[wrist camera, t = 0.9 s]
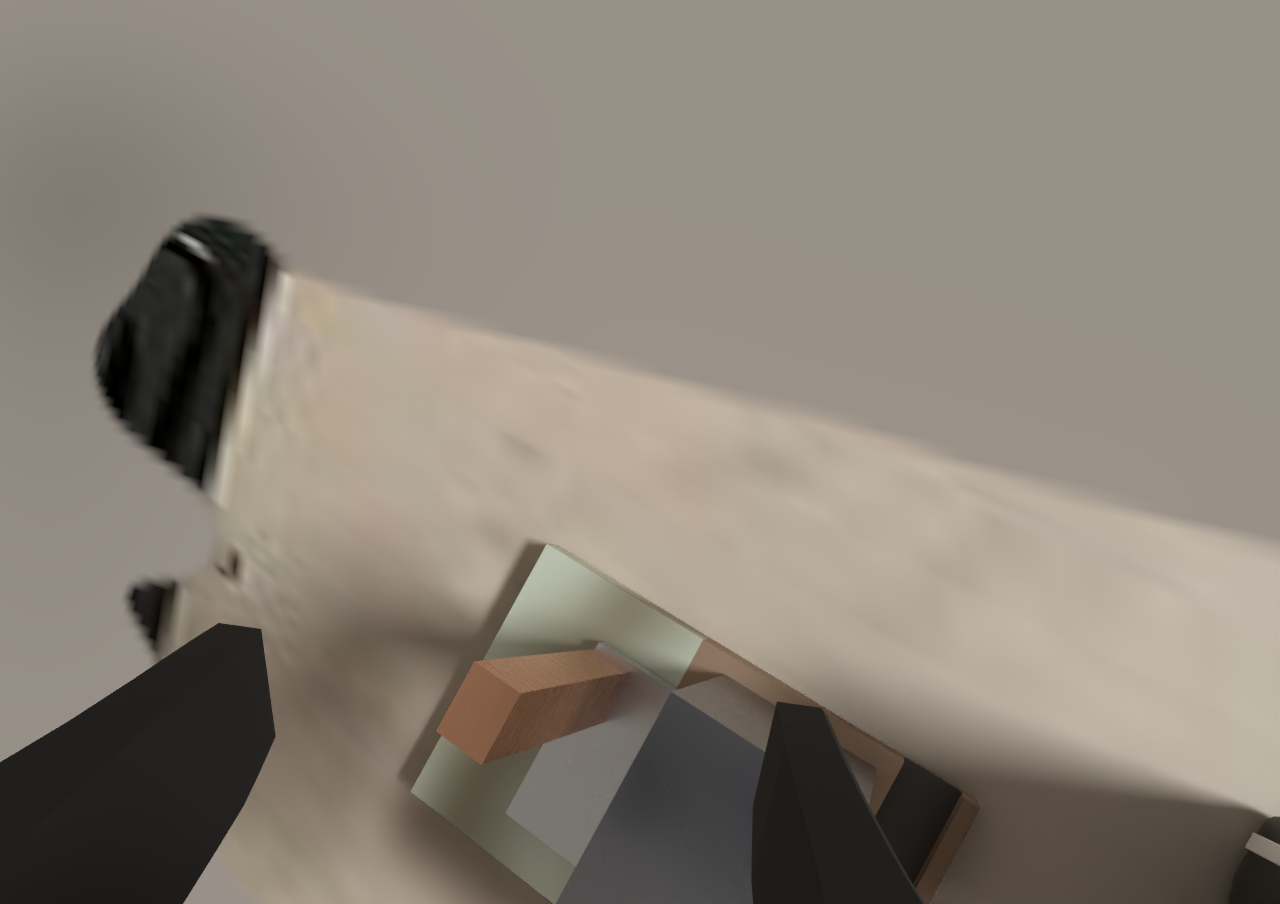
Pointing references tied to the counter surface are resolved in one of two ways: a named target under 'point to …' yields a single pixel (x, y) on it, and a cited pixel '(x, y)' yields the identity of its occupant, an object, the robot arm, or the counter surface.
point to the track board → (610, 612)
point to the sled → (559, 733)
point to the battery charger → (1259, 868)
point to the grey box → (687, 805)
